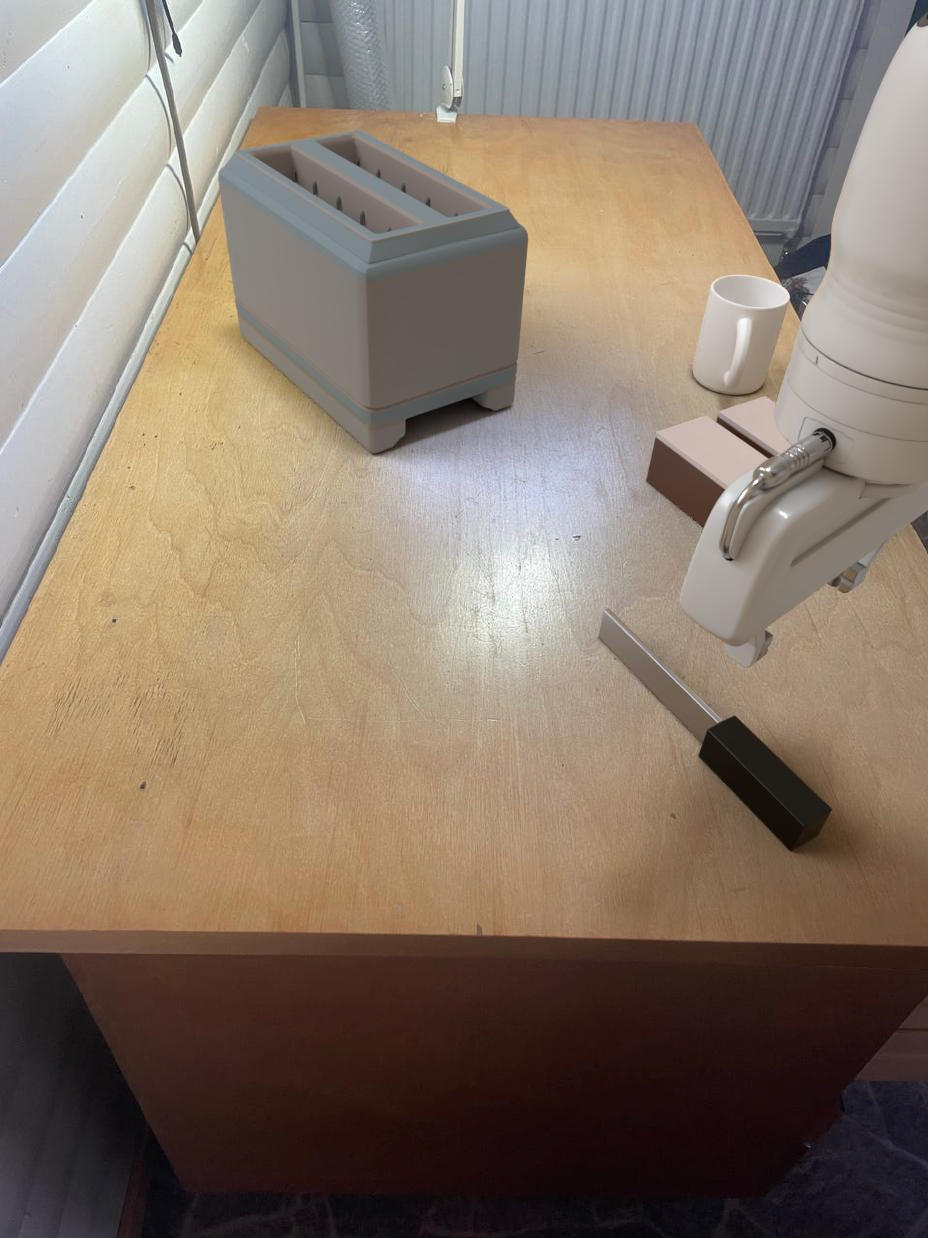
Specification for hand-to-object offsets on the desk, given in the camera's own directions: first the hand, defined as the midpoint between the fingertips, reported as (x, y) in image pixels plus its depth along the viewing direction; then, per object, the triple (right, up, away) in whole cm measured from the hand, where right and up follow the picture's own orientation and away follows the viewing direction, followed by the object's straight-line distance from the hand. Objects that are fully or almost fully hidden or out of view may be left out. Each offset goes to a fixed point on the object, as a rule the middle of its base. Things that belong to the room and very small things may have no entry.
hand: (794, 617), depth 51 cm
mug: (+11, +26, +52) cm, 59 cm away
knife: (-2, -8, +15) cm, 17 cm away
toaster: (-30, +29, +52) cm, 66 cm away
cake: (+9, +11, +36) cm, 39 cm away
